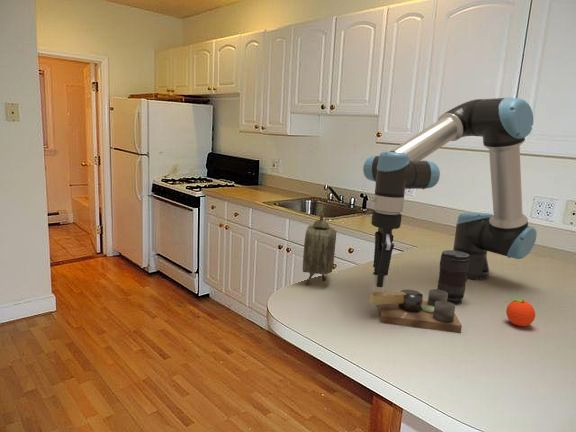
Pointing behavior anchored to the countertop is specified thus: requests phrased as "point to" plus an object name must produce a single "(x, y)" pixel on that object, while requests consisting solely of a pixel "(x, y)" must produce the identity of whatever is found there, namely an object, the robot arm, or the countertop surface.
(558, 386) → the countertop surface
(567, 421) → the countertop surface
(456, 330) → the base
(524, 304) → the tomato
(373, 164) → the robot arm
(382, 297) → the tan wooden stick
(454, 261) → the camera lens
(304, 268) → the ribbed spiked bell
